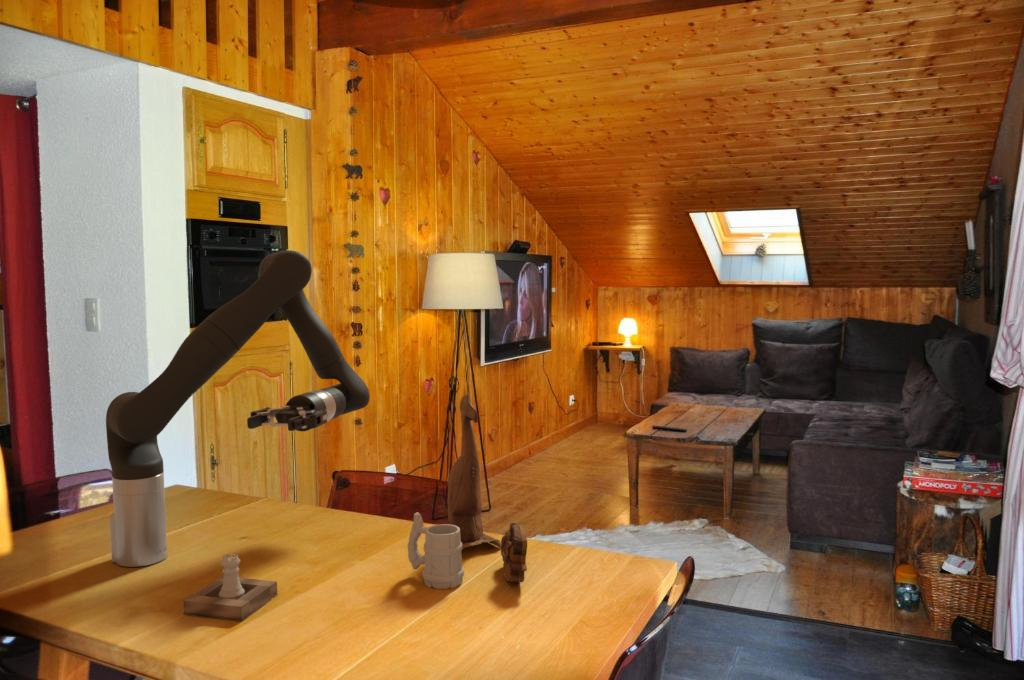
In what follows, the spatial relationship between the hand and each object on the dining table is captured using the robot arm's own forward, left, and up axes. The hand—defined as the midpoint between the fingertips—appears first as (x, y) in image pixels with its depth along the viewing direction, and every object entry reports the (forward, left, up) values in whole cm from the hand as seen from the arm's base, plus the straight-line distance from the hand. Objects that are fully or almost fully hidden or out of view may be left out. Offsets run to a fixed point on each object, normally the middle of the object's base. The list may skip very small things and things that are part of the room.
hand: (269, 424), depth 154 cm
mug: (+32, +2, -28) cm, 43 cm away
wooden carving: (+46, +6, -28) cm, 54 cm away
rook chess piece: (+2, -17, -28) cm, 33 cm away
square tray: (+2, -17, -28) cm, 33 cm away
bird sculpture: (+32, +20, -28) cm, 47 cm away
